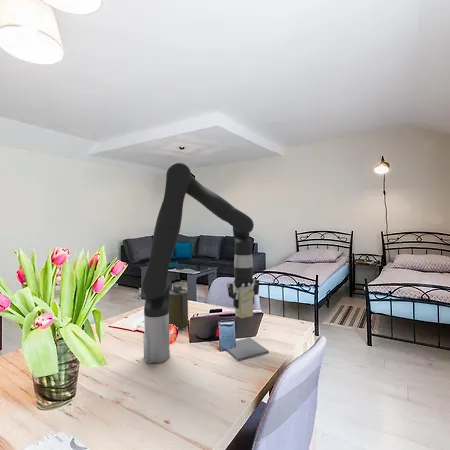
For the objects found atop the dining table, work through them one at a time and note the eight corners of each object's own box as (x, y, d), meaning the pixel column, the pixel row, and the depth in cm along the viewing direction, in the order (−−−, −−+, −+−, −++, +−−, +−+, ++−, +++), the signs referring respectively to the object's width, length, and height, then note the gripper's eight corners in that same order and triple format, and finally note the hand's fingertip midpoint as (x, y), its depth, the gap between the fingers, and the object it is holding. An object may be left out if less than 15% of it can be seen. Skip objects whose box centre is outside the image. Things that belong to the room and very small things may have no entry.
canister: (163, 326, 144) (162, 286, 143) (181, 320, 151) (180, 282, 151) (175, 332, 136) (174, 290, 136) (193, 326, 143) (192, 286, 143)
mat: (237, 361, 108) (237, 358, 108) (221, 346, 121) (221, 344, 121) (268, 352, 115) (268, 350, 115) (249, 339, 127) (249, 337, 127)
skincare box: (240, 318, 114) (240, 288, 113) (234, 315, 118) (234, 285, 117) (253, 315, 117) (253, 285, 116) (247, 312, 121) (247, 283, 120)
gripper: (253, 262, 123) (254, 301, 124) (223, 265, 117) (223, 306, 117) (263, 265, 116) (264, 306, 117) (231, 268, 110) (232, 312, 110)
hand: (243, 306), depth 117 cm, fingers closed on skincare box, 6 cm apart
